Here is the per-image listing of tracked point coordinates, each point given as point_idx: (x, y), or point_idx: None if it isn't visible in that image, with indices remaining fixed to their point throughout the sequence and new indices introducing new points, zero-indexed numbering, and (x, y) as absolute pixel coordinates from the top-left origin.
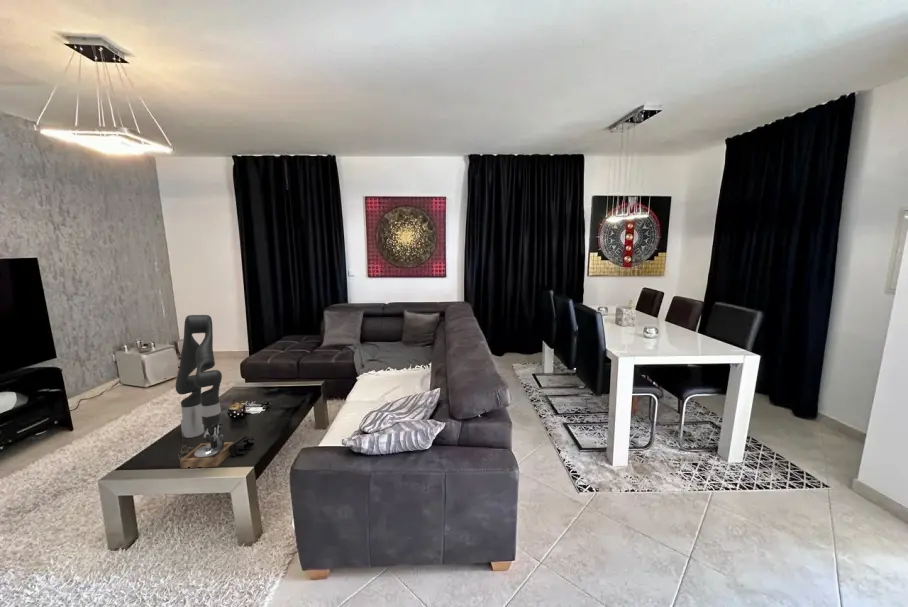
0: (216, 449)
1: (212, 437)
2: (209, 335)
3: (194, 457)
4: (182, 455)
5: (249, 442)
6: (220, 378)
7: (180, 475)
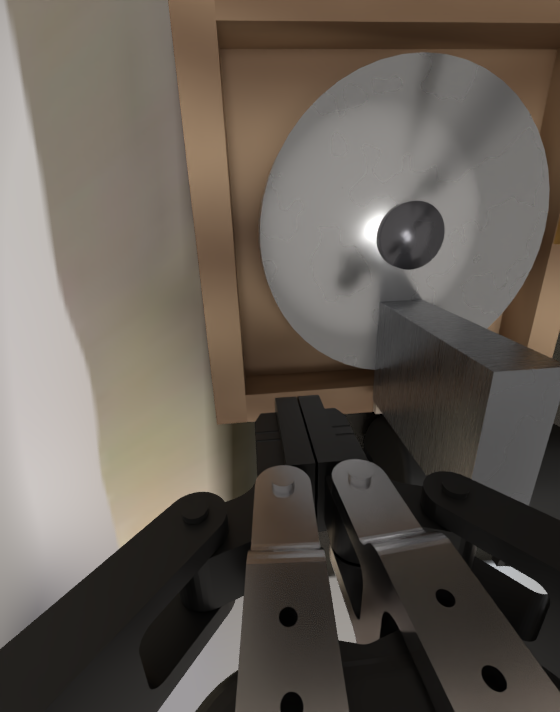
0: (379, 347)
1: (352, 512)
2: None
3: None
4: None
5: None
6: None
7: (54, 134)
